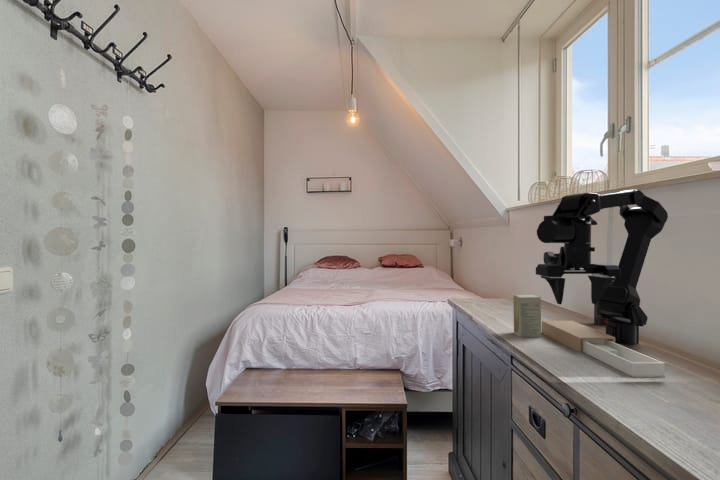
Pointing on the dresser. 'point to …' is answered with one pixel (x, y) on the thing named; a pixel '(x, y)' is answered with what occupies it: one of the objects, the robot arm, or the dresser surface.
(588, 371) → the dresser surface
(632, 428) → the dresser surface
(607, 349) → the soap bar
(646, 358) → the tray
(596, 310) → the deodorant
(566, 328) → the sleeve
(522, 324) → the skincare box
